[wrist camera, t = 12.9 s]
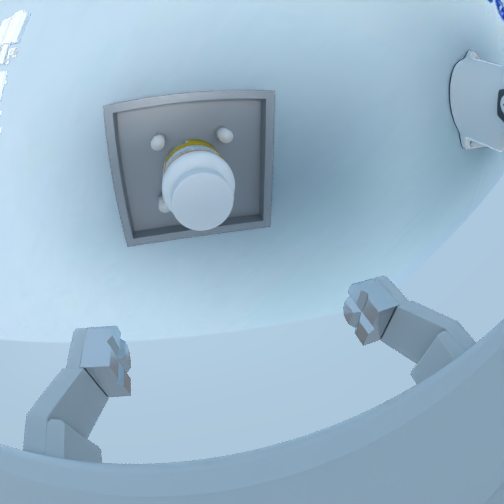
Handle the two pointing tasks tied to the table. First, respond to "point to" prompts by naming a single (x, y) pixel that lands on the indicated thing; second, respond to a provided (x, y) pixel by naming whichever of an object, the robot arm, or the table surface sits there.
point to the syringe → (11, 41)
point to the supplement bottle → (197, 185)
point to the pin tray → (181, 128)
